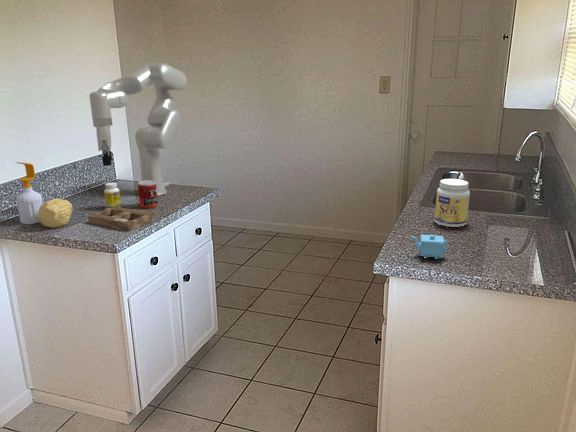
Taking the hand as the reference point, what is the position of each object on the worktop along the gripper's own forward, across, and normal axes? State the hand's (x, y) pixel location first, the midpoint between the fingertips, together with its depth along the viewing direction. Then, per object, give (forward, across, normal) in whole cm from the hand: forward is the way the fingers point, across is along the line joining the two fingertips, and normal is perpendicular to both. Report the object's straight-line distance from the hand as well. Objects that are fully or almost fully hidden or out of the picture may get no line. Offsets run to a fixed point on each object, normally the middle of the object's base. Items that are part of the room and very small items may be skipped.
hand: (107, 162), depth 224 cm
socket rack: (+20, +20, +4) cm, 29 cm away
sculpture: (+20, +17, -21) cm, 34 cm away
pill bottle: (+20, 0, 0) cm, 20 cm away
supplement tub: (+21, +62, +128) cm, 143 cm away
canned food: (+20, +2, +15) cm, 25 cm away
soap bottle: (+20, +9, -31) cm, 38 cm away
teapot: (+20, +89, +102) cm, 137 cm away
